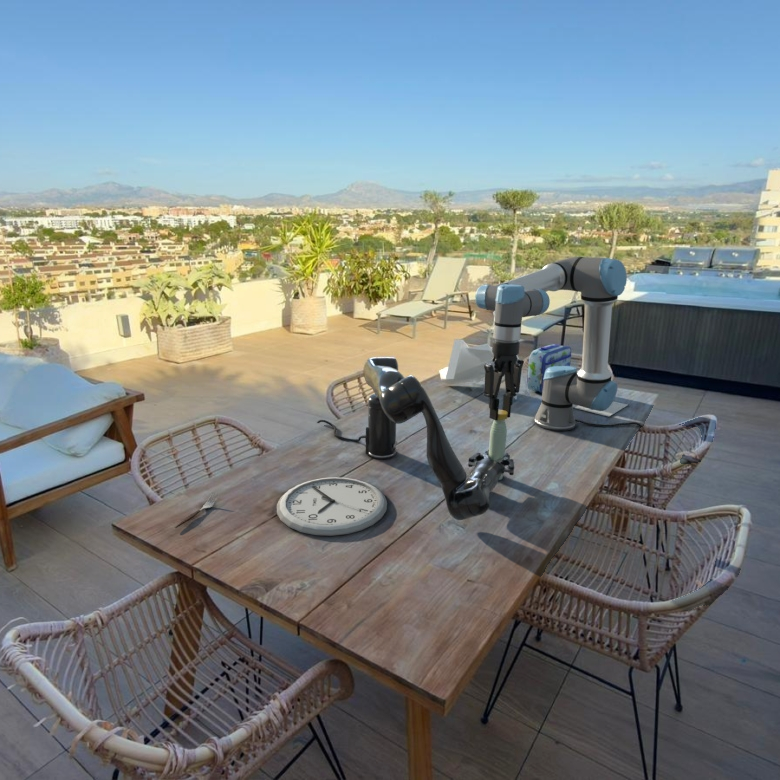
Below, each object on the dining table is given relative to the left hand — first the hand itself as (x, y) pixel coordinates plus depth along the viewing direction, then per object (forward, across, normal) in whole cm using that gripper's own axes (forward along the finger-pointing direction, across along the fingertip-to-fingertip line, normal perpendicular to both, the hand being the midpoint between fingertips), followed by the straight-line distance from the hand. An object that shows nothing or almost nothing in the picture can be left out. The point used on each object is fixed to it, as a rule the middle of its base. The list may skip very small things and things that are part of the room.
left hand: (498, 454), depth 161 cm
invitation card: (+84, -26, +6) cm, 88 cm away
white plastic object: (+80, +27, +6) cm, 84 cm away
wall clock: (-39, +36, +6) cm, 54 cm away
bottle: (-3, 0, +6) cm, 7 cm away
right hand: (-3, 0, -13) cm, 13 cm away
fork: (-59, +66, +6) cm, 88 cm away
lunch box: (+100, -1, +6) cm, 100 cm away
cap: (-3, 0, -14) cm, 15 cm away
